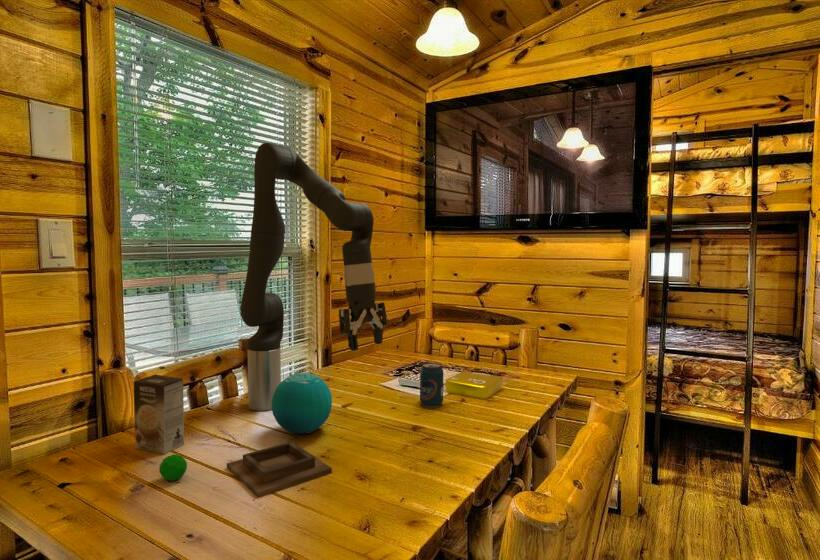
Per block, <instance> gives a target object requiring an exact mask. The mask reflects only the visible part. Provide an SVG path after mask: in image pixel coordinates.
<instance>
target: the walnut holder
mask: <svg viewBox="0 0 820 560" xmlns="http://www.w3.org/2000/svg"><path fill="white" fill-rule="evenodd" d="M226 468H227V470H229V472H230V473H232V474H233V475H234V476H235V478H237V479H238V480H239V481H240V482H241V483H242V484H243V485H244V486H245V487H246V488H247V489H248V490H249V491H250V492H251V493H252V494H253V495H254V496H255V497H256V498H262V497H264V496H267V495H269V494H273V493H275V492H279V491H282V490H284V489H288V488H290V487H293V486H296V485H300V484H302V483H305V482H308V481H311V480H314V479H317V478H320V477H323V476H326V475H329V474H332V472H333V471H332V470H333V469H332V467H331V466H330V465H328V464H327V463H325V462H324V461H322V460H321V459H319V458H318V457H316V456H315V455H313V454H311V453H310V452H309V451H307V450H306V449H305V448H302V447H301V446H300V445H298V444H297V443H294V442H293V441H288V442H285V443H280V444H277V445H273V446H270V447H266V448H262V449H259V450H255V451H251V452H248V453H245V454H242V458H241V459H238V460H237V459H236V460H234V461H230V462H226Z"/></svg>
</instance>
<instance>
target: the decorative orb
mask: <svg viewBox="0 0 820 560" xmlns="http://www.w3.org/2000/svg"><path fill="white" fill-rule="evenodd" d="M332 405H333V396H332V391H331V389H330V387H329V386H328V384H327V383H326V382H325V381H324V380H323V379H322V378H321V377H319V376H317V375H315V374H313V373H309V372H298V373H294V374H292V375H290V376H288V377H286V378H284V379H283V380H281V383H280V384H279V385H278V387H277V389H276V390H275V392H274V395H273V398H272V409H271V411H272V412H271V413H272V415H273V417H274V419H275V421H276V423H277V424H278V425H279V426H280V427H281V428H282V429H284V430H285V431H287V432H288V433H291V434H297V435H305V434H308V433H312V432H314V431H316V430H318V429H319V428H321V426H323V425H324V424H325V422H326V421H327V419H328V418H329V417H330V414H331V411H332V407H333V406H332Z"/></svg>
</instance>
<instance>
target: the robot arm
mask: <svg viewBox="0 0 820 560" xmlns="http://www.w3.org/2000/svg"><path fill="white" fill-rule="evenodd" d="M254 157H255V158H254V167H253V169H254V170H253V171H254V174H253V175H254V177H253V178H254V182H253V183H254V184H253V185H254V187H253V188H254V190H253V191H254V194H253V196H254V198H253V199H254V200H253V211H252V222H251V227H250V228H251V231H250V239H249V241H250V242H249V252H248V253H249V254H248V262H247V263H248V264H247V268H246V269H247V271H246V278H245V282H244V286H243V292H242V296H241V303H240V316H241V319H242V322H243V323H244V324H245V325H246V326H247V327H250V328H255V327H258V329H257V330H256V332H255V333H254V334H253V335H252V336H250V337H249V338H248V339H247V343H246V344H247V346H246V347H247V388H248V391H247V392H248V393H247V394H248V395H247V397H248V405H247V406H248V409H250V410H252V411H258V412H259V411H270V410H271V411H272V398H273V395H274V392H275V390H276V389H277V387H278V385H279V384H280V383H281V382H282V377H281V376H282V371H281V370H282V369H281V367H282V366H281V365H282V363H281V362H282V361H281V360H282V358H281V341H282V340H283V336H284V319H285V312H284V310H285V309H284V303H283V301H282V299H281V298H282V297H280V296H279V295H278V294H276V293H274V292H267V285H268V281H269V278H270V276H271V273H272V271H273V270H274V268H275V267H276V265H277V264H278V262H279V261H280V259H281V257H282V254H283V251H284V247H285V238H286V223H285V221H284V217H283V216H282V213H281V211H280V208H279V205H278V203H277V199H276V180H281V181H287V182H290V183H292V184H295V185H297V186H298V187H300V188H301V190H302V193H303V194H304V196H305V198H306V199H307V200H308V201H309V203H311V204H312V205H313V206H315V207H316V208H317V209H319V210H320V211H321V212H323V214H324V215H325V216H326V218H327V219H328V221H329V222H330V223H331V225H332V226H333V227H335V228H337V230H338V229H339V230H341V231H344V232H351V237H350V240H349V241H346V242H344V243H343V244H342V248H341V249H342V250H341V251H342V252H341V253H342V260H343V280H344V288H345V297H346V302H347V303H348V308H340V309H339V310H338V320H339V323H338V324H339V333H340V334H342V335H346V336H347V343H348V347H349V349H350V351H352V352H353V351H358V350H359V344H358V343H359V342H358V335H357V332H358V330H359V328H360V327H361V326H362V324H366V323H368V324H369V325H371V327H372V329H373V330H372V333H373V341H374V344H375V345H381V344H382V343H383V339H384V338H383V327H385V326H387V325H388V318H387V317H388V316H387V310H386V304H385V302H375V301H376V300H377V289H376V281H375V280H376V279H375V271H374V267H373V260H372V251H371V250H372V249H371V245H372V240H373V239H372V237H373V232H374V223H375V222H374V221H375V220H374V219H375V218H374V214H373V212H372V210H371V208H370V206H369V205H367V204H366V203H361V202H352V201H351V202H350V201H346V197H345V194H344V193H343V192H342V191H341V190H340V189H338V187H336V186H334V185H333V184H331V182H329V181H327V180H326V179H325V178H323V177H321V176H320V175H319V174H318V173H317V172H315V171H314V169H313V168H311V167H310V166H309V165H308V164H307V163H306V162H305V161H304V159H303V158H302V157H301V156H300V155H299V154H298V153H297V152H296V151H295V150H294V149H292V148H290V147H288V146H284V145H280V144H276V143H271V142H264V143H261V144H260V145H259V146H258V148H257V150H256V152H255V156H254Z"/></svg>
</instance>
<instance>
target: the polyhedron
mask: <svg viewBox="0 0 820 560" xmlns="http://www.w3.org/2000/svg"><path fill="white" fill-rule="evenodd" d="M187 469H188V463H187V460H186V459H185V458H184V457H183V456H182V455H180V454H171V455H168V456H166V457H165V458H164V459H163V460H162V461H161V462H160V465H159V474H160V475H161V477H162V479H163V480H165V481H172V482H175V481H177V480H179V479H180V478H182V477H183V476H184V475H185V473H186V471H187Z"/></svg>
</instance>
